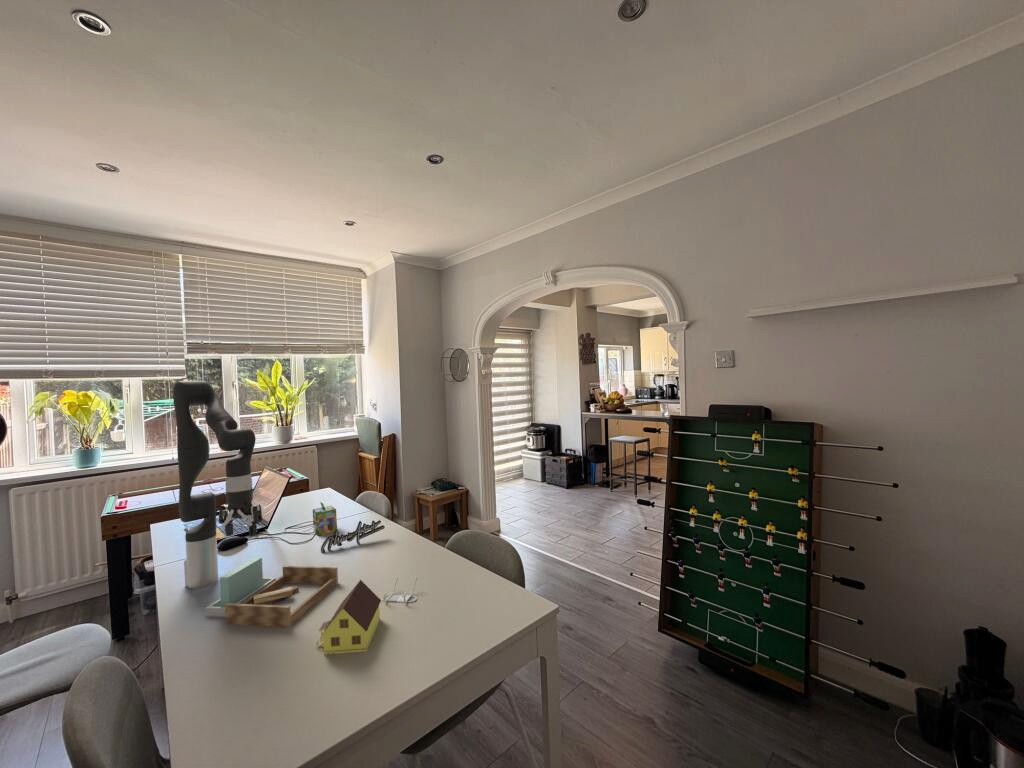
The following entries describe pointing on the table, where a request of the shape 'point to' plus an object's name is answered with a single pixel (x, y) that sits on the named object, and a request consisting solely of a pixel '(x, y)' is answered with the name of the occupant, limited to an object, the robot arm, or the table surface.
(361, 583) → the house model
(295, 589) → the offcut long
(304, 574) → the brown wooden open box
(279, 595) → the offcut short
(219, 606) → the tray
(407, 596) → the wall mount rack
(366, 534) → the nameplate
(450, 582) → the table surface
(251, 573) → the mint green rectangular block
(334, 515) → the juice box
